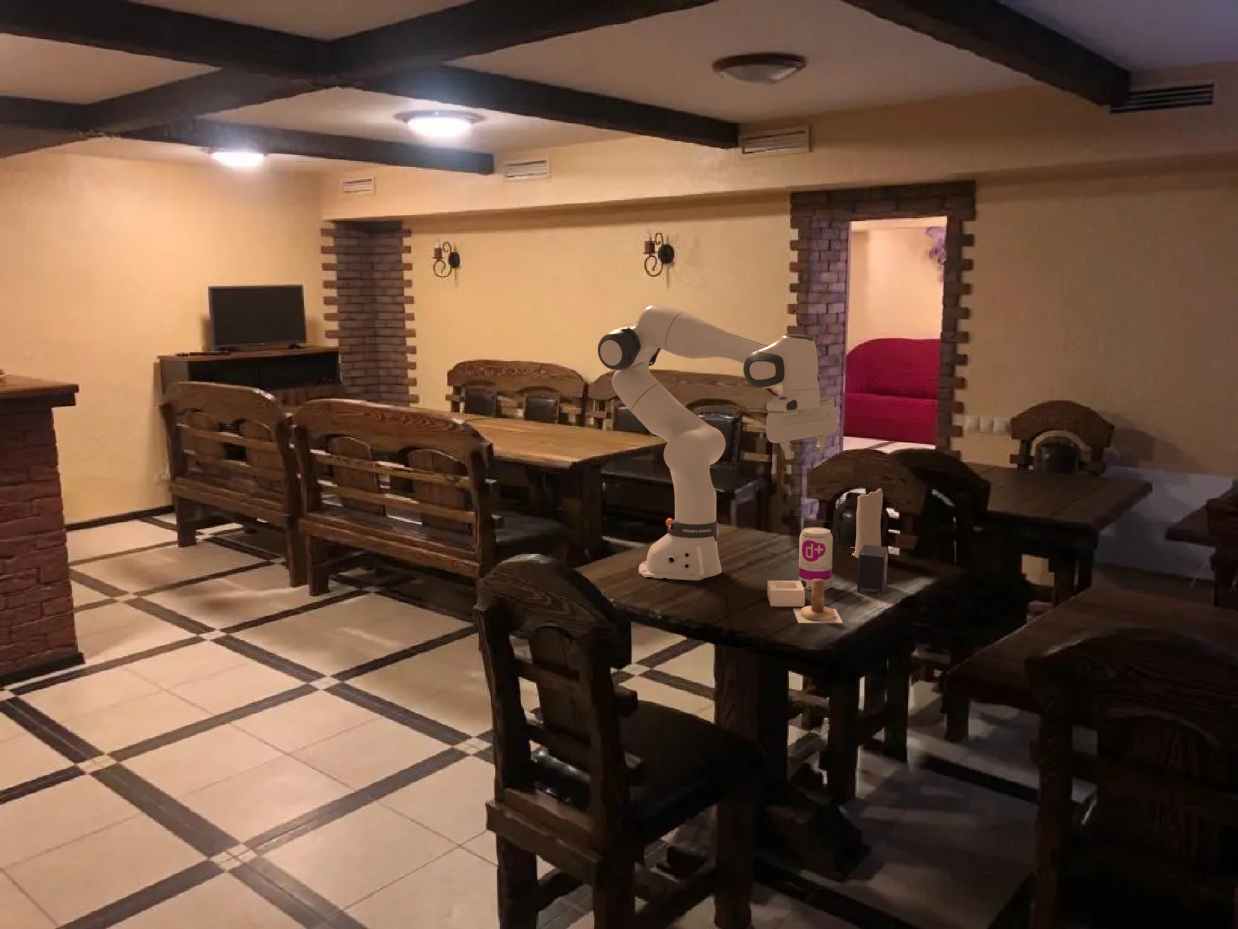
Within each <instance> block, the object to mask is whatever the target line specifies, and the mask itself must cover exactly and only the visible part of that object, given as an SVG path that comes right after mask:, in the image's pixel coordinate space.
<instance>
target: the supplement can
mask: <svg viewBox="0 0 1238 929" xmlns="http://www.w3.org/2000/svg"><path fill="white" fill-rule="evenodd" d="M833 536H834V535H832V533H831V529H828V528H826V527H825V528H824V527H817V526H814V527H812V526H811V527H805V528H803V529H802V530H801V533H800V535H799V541H798V542H799V545H798V546H799V547H798V548H799V550H798V553H799V554H798V581H801V583H802V585H803V587H804V589H806V590H805V591H812V579H823V580H824V591H828V590H829V589H830V588H832V583H833V582H832V581H833V551H834V550H833V548H834V546H833V545H834V544H833V542H834V541H833V540H834V538H833ZM827 589H828V590H827Z"/></svg>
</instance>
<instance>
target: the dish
mask: <svg viewBox="0 0 1238 929" xmlns="http://www.w3.org/2000/svg"><path fill="white" fill-rule="evenodd" d="M805 595H806V590H804V587H803V585H802V583H801V581H799V580H767V598H768V602H769V605H770V607H806V606H805V604H806V600H805V599H806V596H805Z"/></svg>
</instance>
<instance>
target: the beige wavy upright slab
mask: <svg viewBox="0 0 1238 929" xmlns="http://www.w3.org/2000/svg"><path fill="white" fill-rule="evenodd" d="M883 495H884V494H883V489H882V488H881V487H880V488H877V489H876V491H870V492H869V493H868V494H863V493H861V494H860V495H858V496H857V508H856V520H855V521H856V522H855V523H856V533H855V534H856V536H855V537H856V538H855V547H851V548H855V551H854V553H852V555H853V556H852V555H851V556H852V557H854V556H855V558H856V559H859V553H860V551H861V549H862V547H863V545H872V546H881V547H882V536H881V533H882V532H881V521H882V520H881V519H882V518H881V516H882V510H883V500H884V497H883Z"/></svg>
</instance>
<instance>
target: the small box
mask: <svg viewBox="0 0 1238 929" xmlns="http://www.w3.org/2000/svg"><path fill="white" fill-rule="evenodd" d="M857 559H858V561H857V563H858V566H857V585H856V586H857V587H856V593H857V594H869V595H883V593H884V590H885V588H886V586H887V577H888V576H887V575H888V546H882V545H881V546H872V545H863V547H862V549H861V551H860V553H859V558H857Z"/></svg>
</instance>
